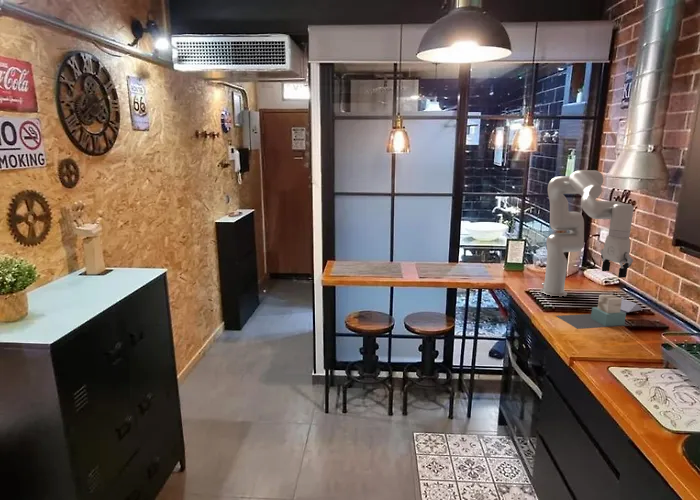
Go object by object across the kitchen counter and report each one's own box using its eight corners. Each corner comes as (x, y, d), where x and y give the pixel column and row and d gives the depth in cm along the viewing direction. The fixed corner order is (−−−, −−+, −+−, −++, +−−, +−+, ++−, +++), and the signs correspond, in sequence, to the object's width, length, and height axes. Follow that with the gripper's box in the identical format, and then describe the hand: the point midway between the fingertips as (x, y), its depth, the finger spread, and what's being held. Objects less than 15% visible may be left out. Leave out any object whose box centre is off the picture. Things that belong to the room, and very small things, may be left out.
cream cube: (597, 308, 197) (599, 295, 196) (609, 307, 198) (611, 294, 197) (607, 313, 191) (609, 299, 190) (620, 312, 192) (621, 298, 191)
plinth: (590, 318, 199) (592, 307, 198) (609, 317, 201) (610, 306, 199) (605, 326, 190) (606, 314, 189) (624, 324, 192) (626, 313, 191)
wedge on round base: (641, 316, 205) (615, 307, 216) (643, 302, 203) (617, 293, 215) (627, 319, 201) (601, 309, 213) (629, 304, 200) (603, 296, 212)
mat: (555, 317, 202) (555, 315, 202) (604, 315, 206) (604, 313, 206) (577, 331, 188) (577, 328, 187) (629, 327, 191) (629, 325, 191)
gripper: (596, 230, 195) (591, 269, 199) (626, 238, 178) (620, 280, 182) (612, 230, 196) (607, 268, 200) (643, 237, 180) (637, 279, 183)
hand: (613, 274), depth 191 cm, fingers open, 9 cm apart
